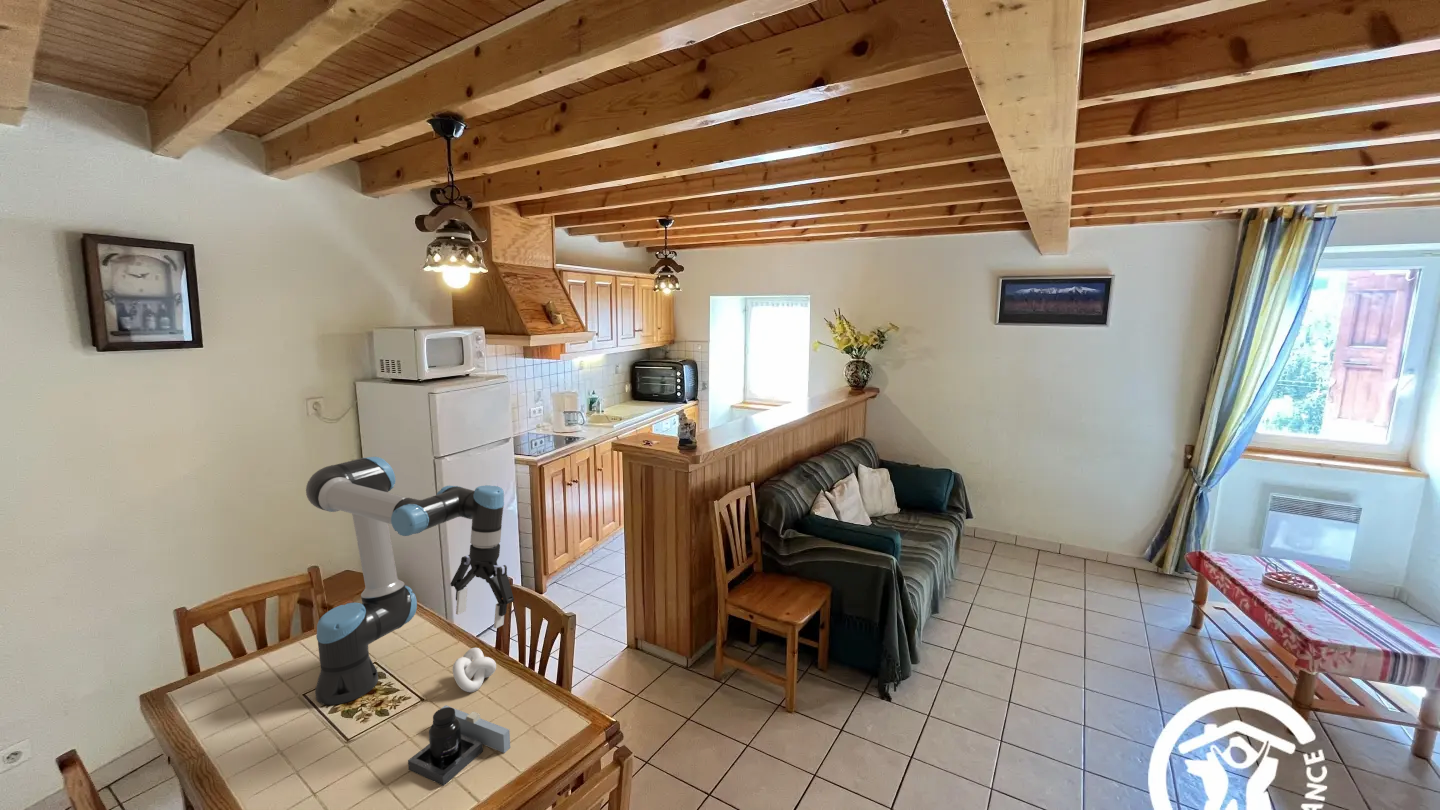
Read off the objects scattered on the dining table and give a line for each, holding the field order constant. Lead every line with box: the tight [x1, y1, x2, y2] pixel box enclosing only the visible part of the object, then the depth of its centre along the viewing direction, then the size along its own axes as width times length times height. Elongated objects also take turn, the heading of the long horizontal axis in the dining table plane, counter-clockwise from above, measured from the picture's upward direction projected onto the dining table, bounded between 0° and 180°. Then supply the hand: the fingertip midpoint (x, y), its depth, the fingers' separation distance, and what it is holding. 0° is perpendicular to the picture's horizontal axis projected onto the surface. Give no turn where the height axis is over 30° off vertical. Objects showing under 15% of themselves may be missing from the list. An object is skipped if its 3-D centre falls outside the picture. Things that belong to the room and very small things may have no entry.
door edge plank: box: [440, 704, 511, 754], centre depth 143 cm, size 22×2×6 cm, turn 66°
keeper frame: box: [407, 734, 484, 787], centre depth 136 cm, size 12×12×2 cm
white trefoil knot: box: [452, 647, 497, 693], centre depth 165 cm, size 11×12×9 cm
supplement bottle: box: [428, 706, 461, 768], centre depth 135 cm, size 7×7×12 cm
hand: (479, 619), depth 153 cm, fingers open, 13 cm apart
